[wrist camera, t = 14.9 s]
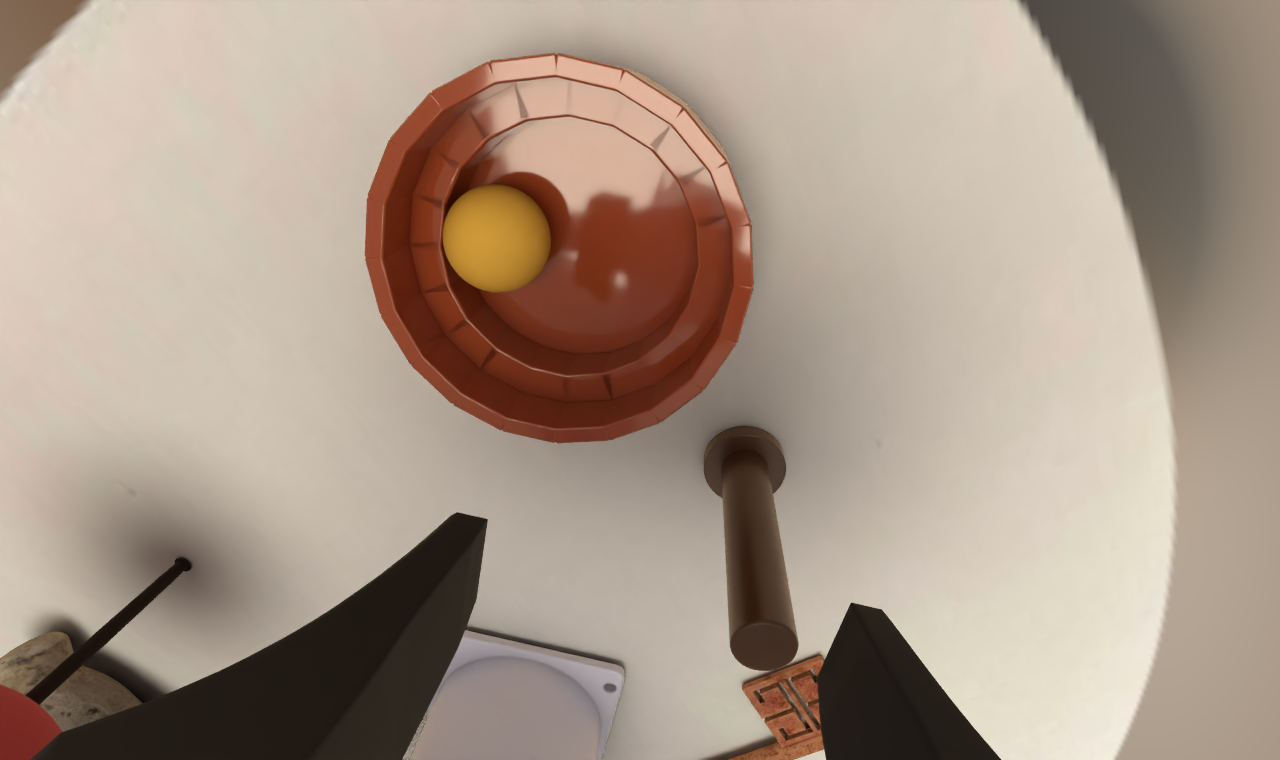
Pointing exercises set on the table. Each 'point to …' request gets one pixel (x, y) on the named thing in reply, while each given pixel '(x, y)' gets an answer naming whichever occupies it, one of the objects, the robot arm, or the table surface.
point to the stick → (753, 546)
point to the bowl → (565, 248)
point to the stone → (78, 695)
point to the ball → (496, 238)
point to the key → (787, 712)
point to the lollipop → (18, 726)
